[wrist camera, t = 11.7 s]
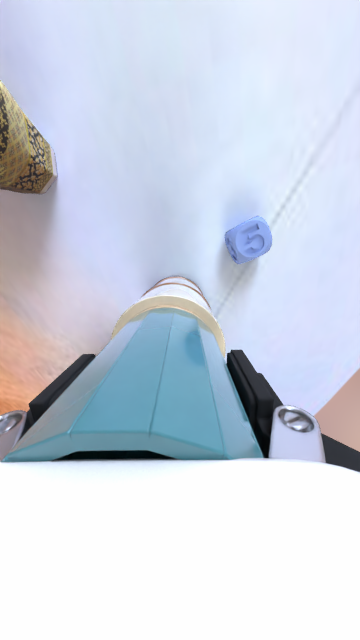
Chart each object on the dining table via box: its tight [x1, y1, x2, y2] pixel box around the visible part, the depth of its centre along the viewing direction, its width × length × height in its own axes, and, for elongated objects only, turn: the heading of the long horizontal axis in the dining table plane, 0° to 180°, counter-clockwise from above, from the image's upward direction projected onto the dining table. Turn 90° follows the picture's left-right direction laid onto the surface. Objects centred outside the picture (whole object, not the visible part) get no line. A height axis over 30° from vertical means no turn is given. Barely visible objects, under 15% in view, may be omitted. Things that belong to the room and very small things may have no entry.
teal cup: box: [0, 307, 265, 462], centre depth 8 cm, size 7×7×9 cm
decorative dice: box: [225, 216, 272, 264], centre depth 23 cm, size 4×4×4 cm
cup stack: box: [111, 276, 225, 358], centre depth 20 cm, size 8×8×15 cm
